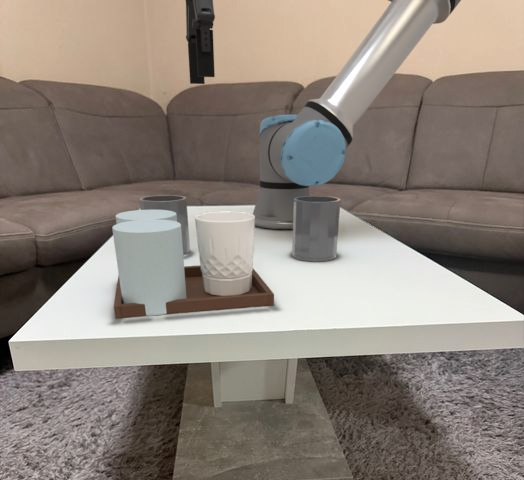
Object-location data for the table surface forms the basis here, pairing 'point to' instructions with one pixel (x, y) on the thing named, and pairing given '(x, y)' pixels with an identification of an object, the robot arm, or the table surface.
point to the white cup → (226, 251)
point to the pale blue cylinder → (150, 263)
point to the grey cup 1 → (170, 204)
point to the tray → (200, 297)
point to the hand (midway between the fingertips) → (201, 80)
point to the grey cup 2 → (315, 228)
